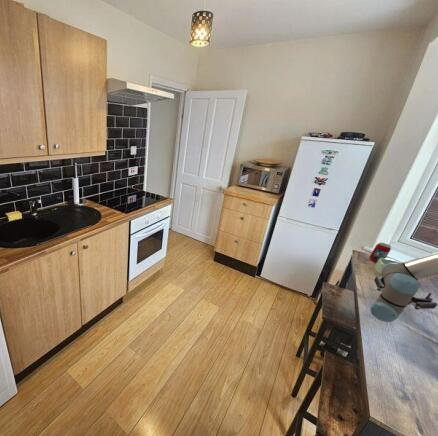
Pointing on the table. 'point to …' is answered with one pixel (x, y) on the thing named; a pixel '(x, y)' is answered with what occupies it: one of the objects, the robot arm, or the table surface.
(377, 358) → the table surface
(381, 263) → the bowl
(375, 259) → the beverage can
